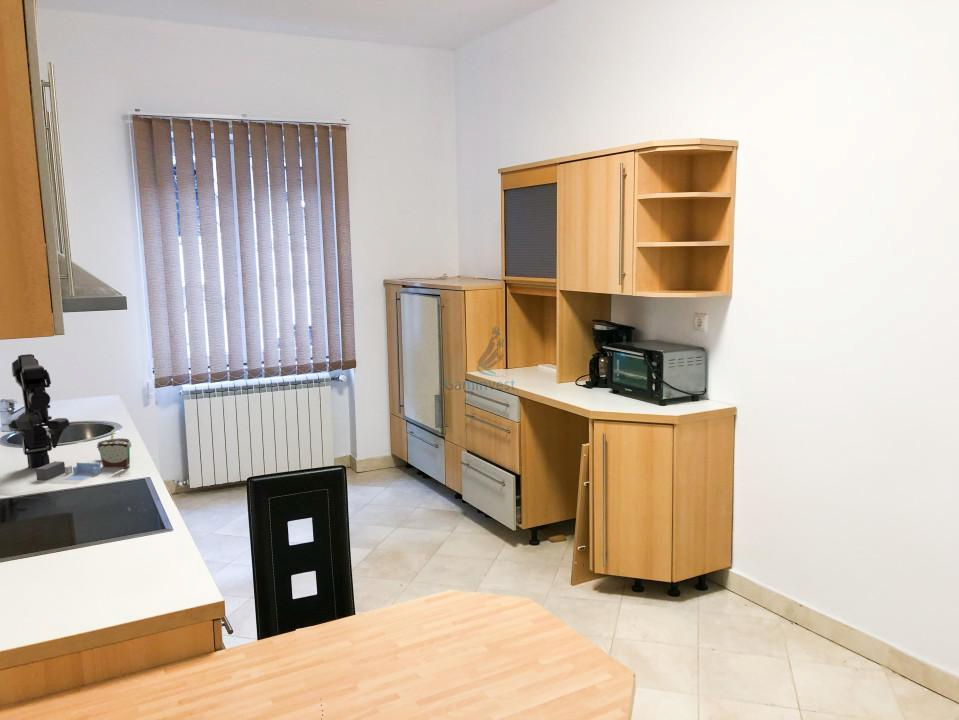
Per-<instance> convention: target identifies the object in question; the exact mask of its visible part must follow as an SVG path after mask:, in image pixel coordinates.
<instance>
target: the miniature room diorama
mask: <svg viewBox="0 0 959 720" xmlns="http://www.w3.org/2000/svg"><path fill="white" fill-rule="evenodd" d="M65 472H66V473H63V474H61V475H59V476H56V477H54V478H51V479H49V480H37V476H35V477H33V478H31V479H30V480H27V481H26V483H40V484H65V485H66V484H67V485H77V484H79V483H82V482H84V481H86V480H88V479H90V478H93V477H95V476H97V475H100V474H101V473H102V470H101V463H99V462H97V463H96V462H76V466H75V465H74V466H72V465H67V466H65Z"/></svg>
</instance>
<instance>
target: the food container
mask: <svg viewBox="0 0 959 720" xmlns="http://www.w3.org/2000/svg"><path fill="white" fill-rule="evenodd" d="M96 445H97V446H96V448H97V449H98V448H99V450H98V452H99V451H100V452H99V455H100V456H99V457H100V460H101V464H102V467H103V468H109V467H110V468H111V467H113V468H122V470H128V469H130V464H131V460H130V458H131V455H130V452H131V451H130V450H131V449H130V448H132V442H131V441H130V439H128V438H124V437H123V438H120V437H119V438H118V437H117V438H113V439H111V438H109V439H104V440H101V441H98V442H97V444H96Z"/></svg>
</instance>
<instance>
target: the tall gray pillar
mask: <svg viewBox="0 0 959 720" xmlns="http://www.w3.org/2000/svg"><path fill="white" fill-rule="evenodd" d="M65 467H66V464H65V461H53V462H52V461H51V462H50V463H49V464H47V465H44V466H42V467H39V468H35V474H36V476H35V477H37V480H49V479H51V478H54V477H56V476H59V475H61V474H63V473H66V472H65Z"/></svg>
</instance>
